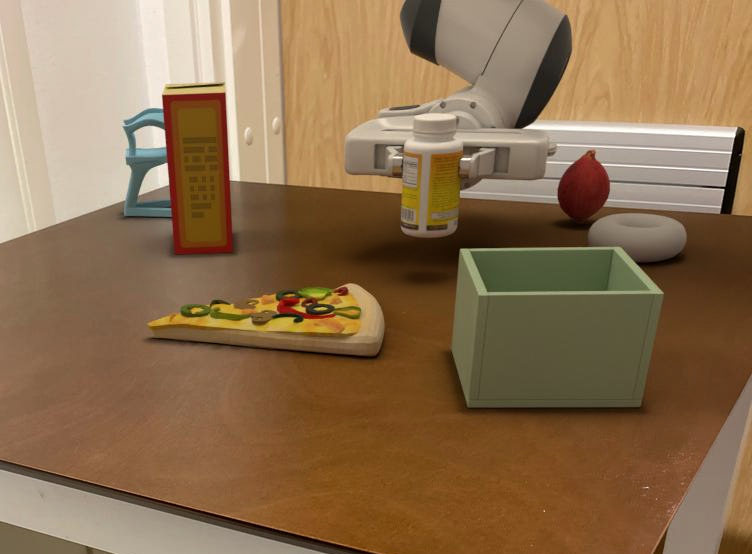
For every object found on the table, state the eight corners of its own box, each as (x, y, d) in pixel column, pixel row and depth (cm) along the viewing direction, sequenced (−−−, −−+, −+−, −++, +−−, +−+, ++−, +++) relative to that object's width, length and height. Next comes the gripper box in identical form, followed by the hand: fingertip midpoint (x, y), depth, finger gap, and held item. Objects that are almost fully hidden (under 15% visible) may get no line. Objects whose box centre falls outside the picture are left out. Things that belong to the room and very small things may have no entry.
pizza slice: (395, 358, 79) (397, 321, 78) (143, 368, 79) (139, 331, 77) (370, 301, 92) (371, 269, 90) (153, 310, 92) (150, 277, 90)
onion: (554, 229, 113) (565, 153, 109) (551, 217, 118) (561, 144, 113) (606, 229, 112) (619, 153, 108) (601, 218, 117) (613, 144, 112)
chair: (124, 207, 128) (113, 105, 121) (187, 204, 129) (180, 102, 122) (123, 220, 122) (112, 113, 115) (189, 217, 123) (182, 110, 116)
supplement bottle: (464, 228, 97) (473, 113, 91) (446, 241, 93) (455, 121, 87) (411, 224, 99) (417, 110, 93) (391, 236, 95) (396, 119, 89)
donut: (611, 239, 109) (567, 255, 103) (617, 206, 107) (573, 221, 101) (698, 253, 104) (657, 271, 98) (706, 218, 102) (664, 235, 96)
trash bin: (602, 349, 80) (620, 246, 75) (640, 407, 70) (664, 293, 65) (451, 350, 81) (459, 248, 76) (467, 407, 71) (478, 295, 66)
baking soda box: (233, 252, 108) (225, 88, 99) (174, 254, 108) (161, 90, 99) (231, 231, 116) (224, 78, 107) (177, 234, 116) (165, 80, 106)
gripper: (555, 178, 101) (537, 208, 90) (365, 172, 107) (328, 199, 96) (564, 110, 97) (546, 132, 87) (366, 108, 103) (328, 128, 93)
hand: (429, 167), depth 92 cm, fingers closed on supplement bottle, 5 cm apart
